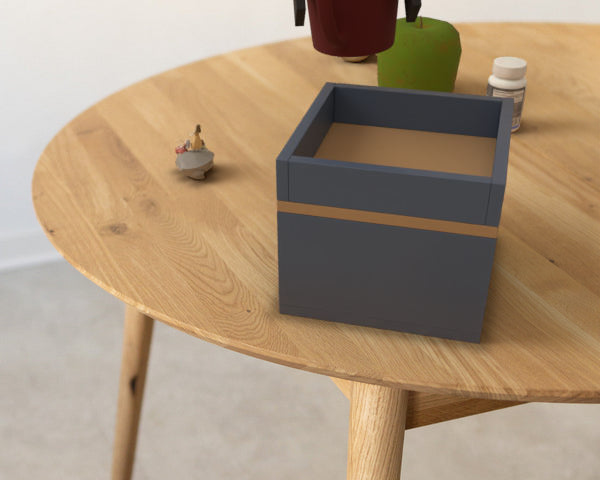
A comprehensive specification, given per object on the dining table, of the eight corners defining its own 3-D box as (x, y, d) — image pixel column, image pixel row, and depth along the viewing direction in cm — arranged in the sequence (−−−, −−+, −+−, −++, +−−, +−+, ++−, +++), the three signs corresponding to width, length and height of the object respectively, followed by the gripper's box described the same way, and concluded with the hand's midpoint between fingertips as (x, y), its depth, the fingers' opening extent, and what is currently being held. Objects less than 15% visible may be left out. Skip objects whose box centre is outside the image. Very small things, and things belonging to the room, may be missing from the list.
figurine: (204, 186, 86) (200, 136, 83) (168, 180, 88) (162, 130, 84) (222, 166, 91) (219, 117, 87) (188, 161, 92) (183, 112, 88)
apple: (373, 108, 105) (377, 26, 98) (376, 80, 113) (380, 3, 107) (457, 112, 103) (467, 29, 97) (454, 83, 112) (463, 5, 106)
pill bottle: (485, 117, 102) (494, 53, 97) (522, 122, 101) (533, 57, 96) (478, 130, 99) (487, 65, 94) (515, 136, 97) (527, 70, 92)
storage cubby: (491, 239, 77) (514, 98, 69) (479, 344, 64) (506, 184, 55) (323, 218, 81) (326, 81, 72) (279, 313, 67) (275, 159, 59)
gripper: (447, -191, 73) (472, 34, 69) (215, -187, 71) (228, 43, 68) (468, -262, 65) (498, -14, 62) (210, -259, 64) (225, -5, 60)
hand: (357, 15), depth 65 cm, fingers closed on mug, 9 cm apart
